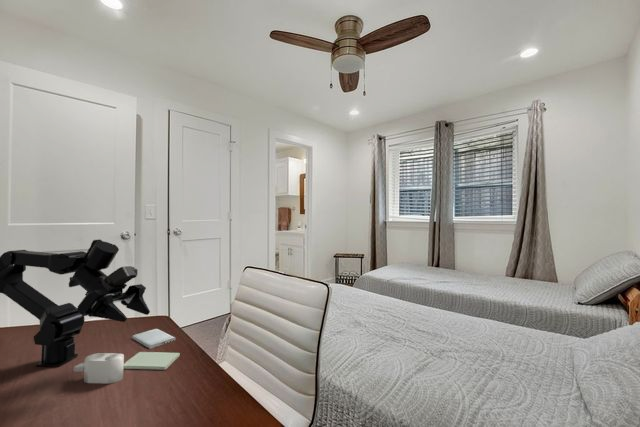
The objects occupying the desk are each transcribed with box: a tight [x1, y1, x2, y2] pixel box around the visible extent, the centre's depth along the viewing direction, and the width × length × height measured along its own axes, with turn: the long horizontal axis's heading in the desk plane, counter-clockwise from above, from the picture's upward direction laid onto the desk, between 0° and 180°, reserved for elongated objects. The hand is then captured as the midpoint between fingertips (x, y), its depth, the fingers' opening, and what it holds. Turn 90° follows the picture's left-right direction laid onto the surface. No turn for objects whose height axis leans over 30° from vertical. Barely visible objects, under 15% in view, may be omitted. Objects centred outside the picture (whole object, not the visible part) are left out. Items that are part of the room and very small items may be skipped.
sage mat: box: [123, 351, 181, 371], centre depth 83 cm, size 12×8×1 cm, turn 90°
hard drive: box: [131, 328, 176, 349], centre depth 98 cm, size 2×8×12 cm
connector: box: [73, 352, 125, 385], centre depth 74 cm, size 11×4×6 cm, turn 90°
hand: (137, 316), depth 78 cm, fingers open, 9 cm apart
